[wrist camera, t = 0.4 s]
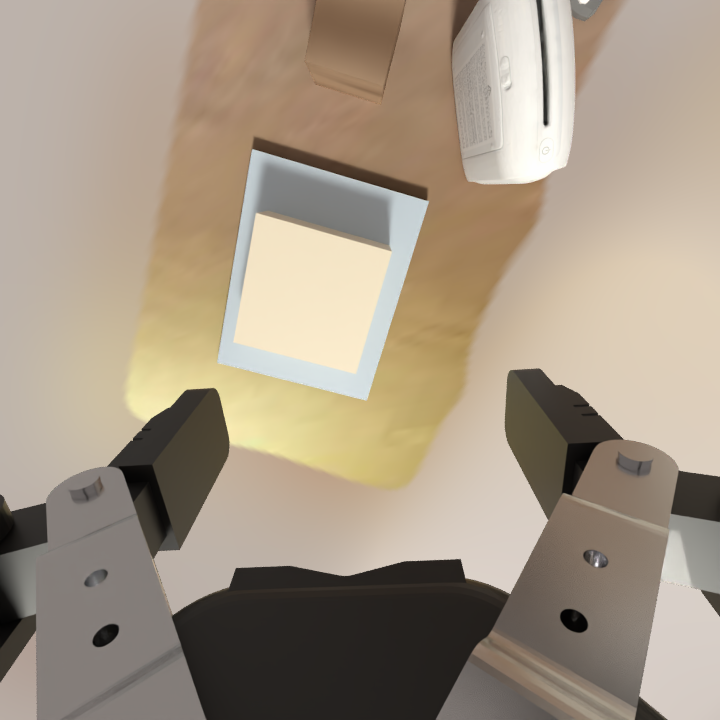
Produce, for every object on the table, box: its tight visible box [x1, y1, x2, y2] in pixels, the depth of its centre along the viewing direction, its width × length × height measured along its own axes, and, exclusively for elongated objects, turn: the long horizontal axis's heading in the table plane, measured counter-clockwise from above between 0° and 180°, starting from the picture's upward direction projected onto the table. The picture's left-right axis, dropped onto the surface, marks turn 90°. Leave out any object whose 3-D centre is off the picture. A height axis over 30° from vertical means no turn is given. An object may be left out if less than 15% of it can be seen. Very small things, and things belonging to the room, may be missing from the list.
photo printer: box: [452, 0, 575, 184], centre depth 26 cm, size 10×4×12 cm, turn 12°
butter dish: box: [217, 149, 429, 401], centre depth 35 cm, size 18×14×5 cm
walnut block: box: [305, 0, 406, 105], centre depth 28 cm, size 5×5×6 cm
